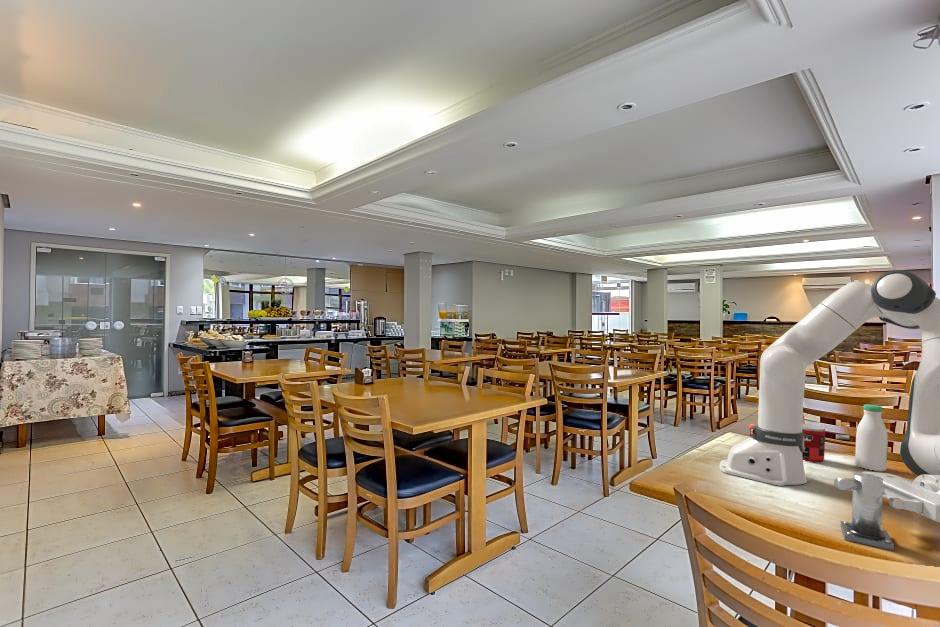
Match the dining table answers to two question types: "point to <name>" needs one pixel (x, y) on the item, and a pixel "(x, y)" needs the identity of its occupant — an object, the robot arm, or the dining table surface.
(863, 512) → the grey pipe with spout
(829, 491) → the dining table surface
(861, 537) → the duct flange
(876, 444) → the milk bottle
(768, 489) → the dining table surface
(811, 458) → the canned food
